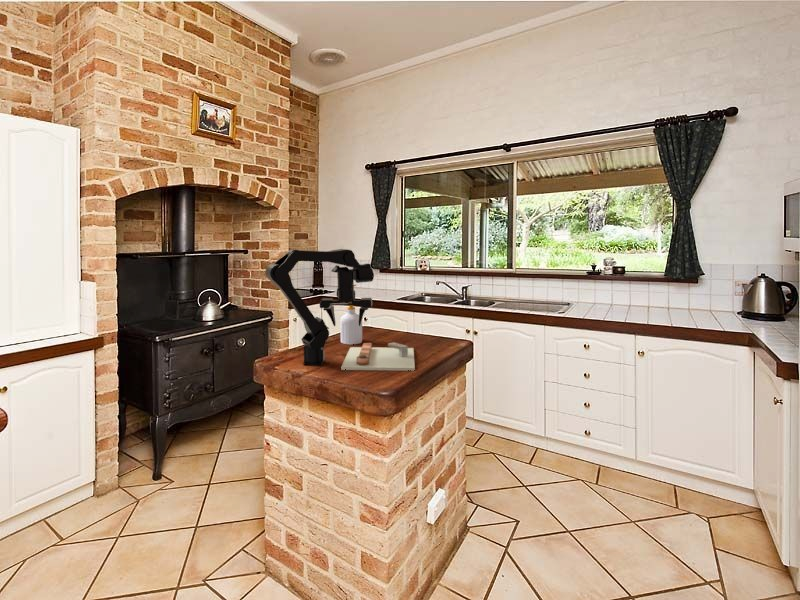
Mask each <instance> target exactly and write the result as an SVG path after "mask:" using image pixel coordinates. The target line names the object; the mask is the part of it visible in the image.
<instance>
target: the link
mask: <svg viewBox="0 0 800 600" xmlns="http://www.w3.org/2000/svg"><path fill="white" fill-rule="evenodd" d="M372 346H373V345H372V342H363V344H362V346H361V347H362V349H361V351H360V354H359V356H358V357H357V364H359V365H366V364H369V356H370V352H371V349H372V348H373V347H372Z"/></svg>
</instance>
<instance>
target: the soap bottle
mask: <svg viewBox="0 0 800 600" xmlns="http://www.w3.org/2000/svg"><path fill="white" fill-rule="evenodd" d="M354 287H357V284H354ZM346 307H347V308H346V311H347V312H346V313H345V314H343V315H342V316H341V317H340V319H339V320H340V322H339V323H340V328H339V329H340V330H339V331H340V343H341V344H343V345H350V346H352V345H353V344H354V345H359V344H361V343H362V342H363V320H362V321H361V325H360V326H359V313H358V314H357V313H356V307H354V305H348V306H346Z"/></svg>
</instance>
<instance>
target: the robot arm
mask: <svg viewBox="0 0 800 600" xmlns="http://www.w3.org/2000/svg"><path fill="white" fill-rule="evenodd" d="M299 262H319V263H320V262H321V263H331V264H335V266H334V267H333V268H332V269H331V272H332V273H336V274H337V288H336V297H337V298H338V299H337V300H334V299H333V298H332V297H329V298H327V297H325V298H324V297H323V298H322V299H321V300H320V301H319V308H320V309H323V311H326V313H327V315H328V316H329V318H330V320H331V323H332V325H333V327H336V324H337V322H336V316H335V315H336V314H335V306H349V305H353V306H360V307H359V313H358V315H359V326H360V325H361V321H362V322H363V317H364V314H365V311H368V310H369V308H372V307H373V298H372V297H361V298H360V299H357V300H356V290H355V289H354V287H355V286H354V285H355V284H354V283H357V284H360V283H370V282H373V280H374V277H375V273H374V269H373V268H372V264H371V263H363V264H361V263H359V261H358V260H357V259H356V256H355V252H353V250H351V249H346V248H345V249H343V248H339V249H337V248H336V249H331V250H327V251H326V250H325V251H324V250H323V251H321V250H303V249H301V250H300V249H293V248H291V249H290V250H288V251H287V252H286V253H285V254H284V255H282V257H280V258H278V259H277V260H276V261H275V262H274V263H271V264H270V263H269V264H268V266H267V267H266V268H265V272H264V273H265V277H266V278H267V279H268V280H269V281H270V282H271V283H272V284H273V285H274V286H275V287H276V288H278V289H279V290H280V291H281V292H282V294H283V295H284V296H285V298H286V299H287V301H288V302H289V303H290V305H291V307H292V308H293V310H294V311H295V312H296V313H297V315H298V317H299V318H300V319H301V321H302V322H303V325H304V328H305V329H304V330H305V331H306V333H305V334H304V335H303V336H302V338H301V343H302V344H303V345H304V346H303V363H302V365H303V364H310V365H309V366H311V365H312V366H314V365H315V366H321V365H322V364H323V363H324V362H325V359H326V357H325V348H324V347H325V344H326V341H328V339H329V336H330V331H329V329H330V328H329V327H328V326H327V325H326V323H325V320H324V319H323V318H321V317H318V316H316V317H315V315H314V314H313V312H311V309H309V307H308V306H307V304H306V303H305V301H304V300H303V298H302V297H301V296H300V293H298V291H297V290H296V288H295V287H294V285H293V282H292V278H291V276H290V274H289V273H290V272H291V271H292V270H293V269H294V268H295V266H296V265H297V264H298V263H299ZM354 281H355V282H354Z"/></svg>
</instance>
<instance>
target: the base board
mask: <svg viewBox="0 0 800 600" xmlns="http://www.w3.org/2000/svg"><path fill="white" fill-rule="evenodd" d="M361 349H362V346H358V347H357V346H352V347H351V346H350V347H349V349H348V351H347V353H346V356H345V357H344V358H345V359H344V360H343V362H342V364H341V367H340V368H341V369H340V370H341V371H397V372H398V371H399V372H400V371H405V372H407V371H408V370H409V372H410V370H411V372H413V371H414V370H416V369H415V367H416V366H415V352H414V351H415V350H414V349H415V348H414V347H408V356H406V357H399V349H396V348H393V347H372V349H371V352H370V356H369V364H366V365H359V364H357V357H358V356H359V354H360V351H361ZM345 369H346V370H345ZM414 372H415V371H414Z"/></svg>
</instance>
